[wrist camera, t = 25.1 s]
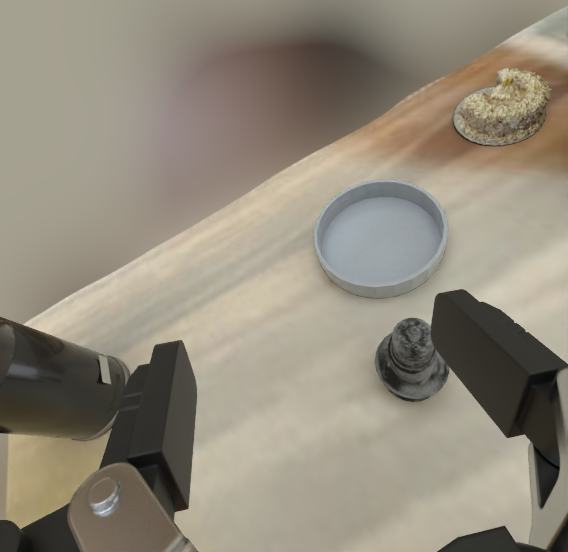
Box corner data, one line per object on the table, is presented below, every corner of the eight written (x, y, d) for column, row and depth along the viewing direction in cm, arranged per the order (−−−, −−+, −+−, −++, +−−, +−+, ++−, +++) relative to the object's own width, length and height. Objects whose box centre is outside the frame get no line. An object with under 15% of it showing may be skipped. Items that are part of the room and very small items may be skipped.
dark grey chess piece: (450, 350, 32) (472, 297, 22) (438, 414, 30) (457, 389, 20) (385, 334, 34) (378, 280, 24) (370, 392, 32) (356, 360, 22)
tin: (320, 304, 38) (315, 293, 35) (317, 206, 44) (312, 191, 42) (457, 290, 34) (461, 278, 32) (431, 186, 41) (433, 168, 38)
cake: (562, 106, 41) (586, 64, 36) (510, 161, 40) (528, 125, 35) (484, 79, 46) (496, 38, 41) (436, 128, 44) (442, 91, 40)
